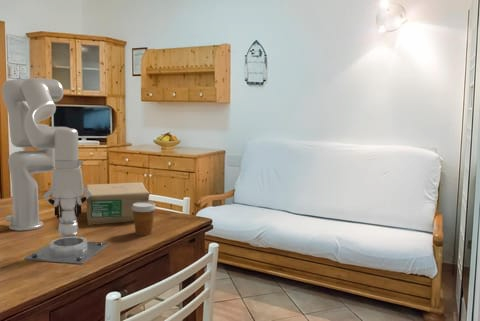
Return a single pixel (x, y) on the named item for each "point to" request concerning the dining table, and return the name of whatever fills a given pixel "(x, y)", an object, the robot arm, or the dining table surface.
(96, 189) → the paper package
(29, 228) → the robot arm
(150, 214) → the disposable coffee cup
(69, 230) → the plastic bottle
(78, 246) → the duct flange
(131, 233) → the dining table surface
